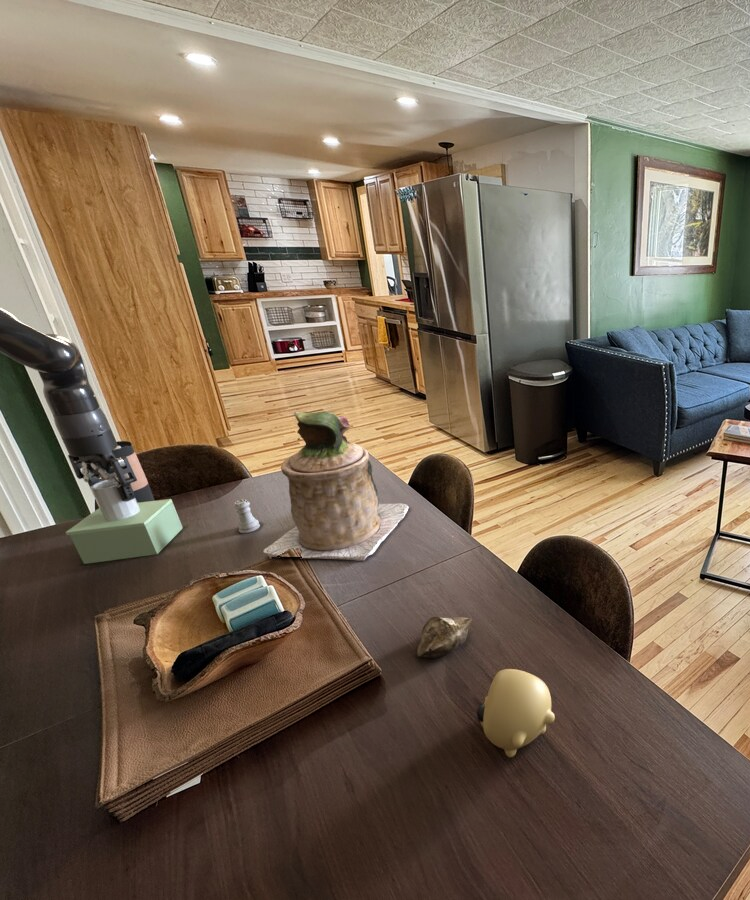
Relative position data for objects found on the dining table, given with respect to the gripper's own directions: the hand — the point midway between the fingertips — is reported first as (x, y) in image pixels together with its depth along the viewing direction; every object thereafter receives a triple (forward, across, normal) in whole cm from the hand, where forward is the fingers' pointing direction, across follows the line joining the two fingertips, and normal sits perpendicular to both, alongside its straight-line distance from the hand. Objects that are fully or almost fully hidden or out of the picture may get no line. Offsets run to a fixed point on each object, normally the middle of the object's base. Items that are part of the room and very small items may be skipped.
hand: (115, 497), depth 107 cm
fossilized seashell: (+13, +88, -10) cm, 89 cm away
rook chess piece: (+13, +20, +12) cm, 27 cm away
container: (+13, 0, 0) cm, 13 cm away
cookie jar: (+13, +43, +17) cm, 48 cm away
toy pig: (+13, +106, -22) cm, 109 cm away
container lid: (+5, 0, 0) cm, 5 cm away
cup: (+4, 0, 0) cm, 4 cm away
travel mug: (+13, -14, +10) cm, 22 cm away
